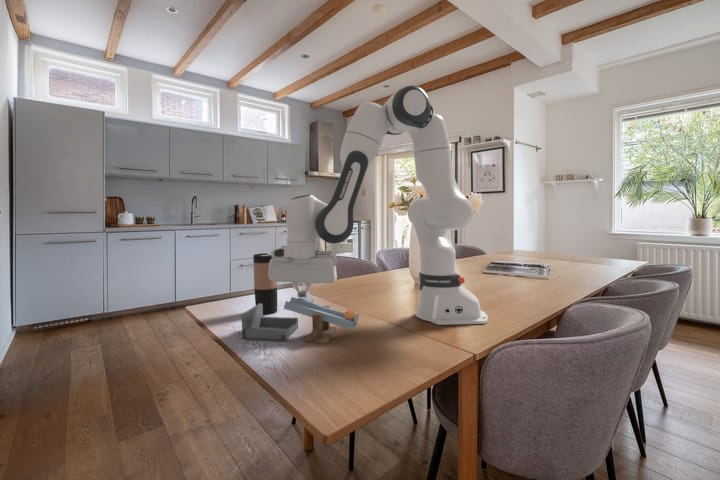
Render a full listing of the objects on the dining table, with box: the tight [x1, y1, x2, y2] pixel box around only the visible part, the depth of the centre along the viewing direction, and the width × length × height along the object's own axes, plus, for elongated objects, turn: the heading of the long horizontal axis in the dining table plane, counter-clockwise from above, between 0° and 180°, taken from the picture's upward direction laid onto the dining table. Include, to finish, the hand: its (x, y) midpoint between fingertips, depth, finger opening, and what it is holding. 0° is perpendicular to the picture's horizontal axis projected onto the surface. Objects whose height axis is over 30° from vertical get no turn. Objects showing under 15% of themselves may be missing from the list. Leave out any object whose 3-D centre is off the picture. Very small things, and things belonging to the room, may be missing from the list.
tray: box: [240, 304, 299, 342], centre depth 99 cm, size 12×11×7 cm
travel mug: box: [252, 252, 278, 316], centre depth 119 cm, size 8×8×20 cm
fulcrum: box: [305, 305, 337, 344], centre depth 96 cm, size 6×10×7 cm, turn 171°
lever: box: [283, 296, 360, 331], centre depth 99 cm, size 20×12×3 cm, turn 82°
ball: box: [343, 309, 357, 321], centre depth 95 cm, size 3×3×3 cm
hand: (303, 296), depth 103 cm, fingers closed
